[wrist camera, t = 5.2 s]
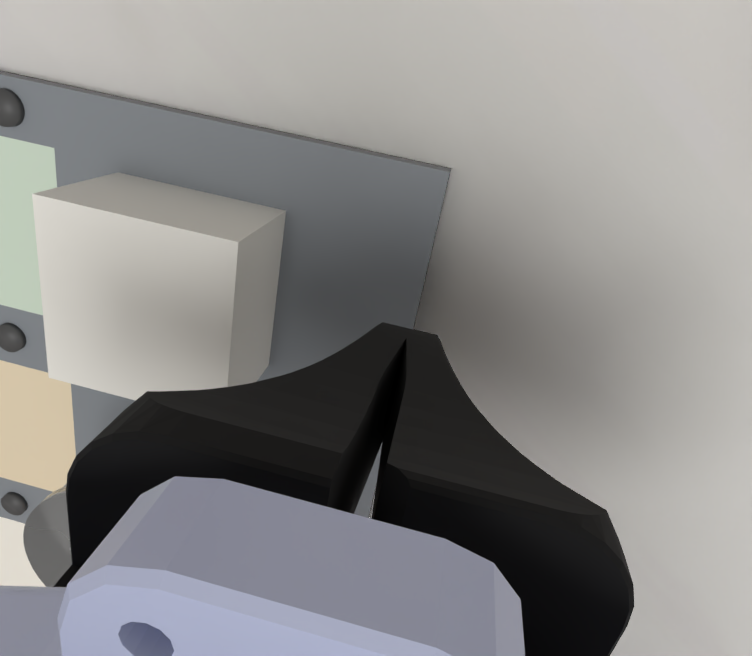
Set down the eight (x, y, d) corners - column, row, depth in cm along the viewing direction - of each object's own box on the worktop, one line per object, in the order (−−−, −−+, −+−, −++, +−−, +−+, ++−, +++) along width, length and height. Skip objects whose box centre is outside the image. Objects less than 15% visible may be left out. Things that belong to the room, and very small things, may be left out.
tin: (264, 420, 16) (197, 524, 13) (251, 531, 18) (190, 651, 15) (121, 383, 17) (14, 473, 13) (124, 496, 19) (31, 603, 15)
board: (450, 168, 13) (449, 173, 12) (323, 706, 23) (318, 727, 22) (-111, 47, 14) (-142, 44, 14) (-9, 606, 24) (-24, 623, 23)
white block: (286, 210, 14) (238, 242, 11) (268, 365, 16) (224, 423, 13) (118, 172, 14) (32, 193, 11) (121, 328, 16) (48, 377, 13)
